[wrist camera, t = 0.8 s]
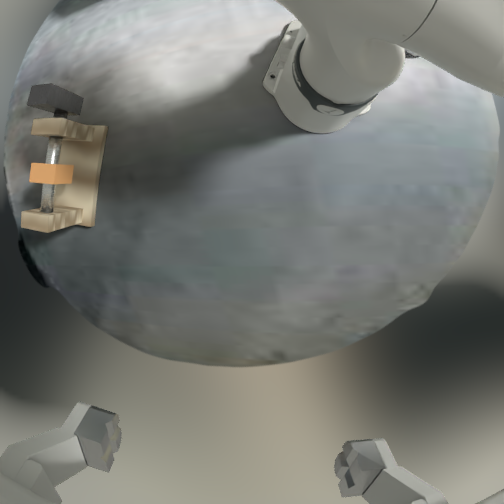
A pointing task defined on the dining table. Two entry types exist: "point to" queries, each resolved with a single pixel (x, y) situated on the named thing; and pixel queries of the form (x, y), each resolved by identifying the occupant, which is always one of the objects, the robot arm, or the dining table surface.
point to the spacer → (51, 173)
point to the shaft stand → (83, 180)
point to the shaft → (61, 106)
